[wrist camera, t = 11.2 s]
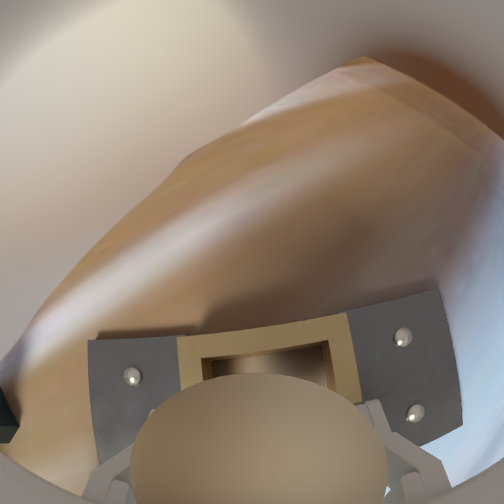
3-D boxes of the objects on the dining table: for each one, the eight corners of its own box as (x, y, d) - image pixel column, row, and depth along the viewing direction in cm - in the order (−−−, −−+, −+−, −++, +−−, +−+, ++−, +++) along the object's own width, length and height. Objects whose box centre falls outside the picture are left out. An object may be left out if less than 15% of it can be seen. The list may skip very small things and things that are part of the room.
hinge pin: (308, 368, 14) (373, 349, 5) (318, 448, 12) (386, 549, 2) (219, 379, 15) (115, 377, 5) (230, 459, 12) (156, 565, 2)
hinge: (432, 291, 20) (450, 278, 17) (456, 424, 14) (476, 426, 12) (94, 341, 20) (73, 335, 18) (107, 472, 15) (88, 479, 12)
